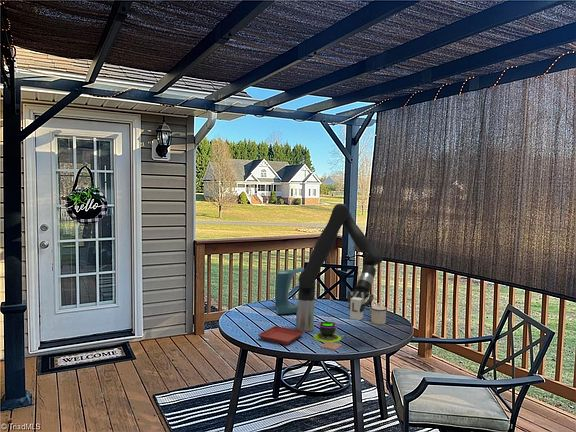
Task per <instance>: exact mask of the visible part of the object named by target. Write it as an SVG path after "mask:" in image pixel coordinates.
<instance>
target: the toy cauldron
mask: <svg viewBox="0 0 576 432" xmlns="http://www.w3.org/2000/svg"><path fill="white" fill-rule="evenodd" d="M323 319H324V320H325V319H326V318H325V317H324V318H322V320H323ZM328 319H330V320H331V318H328ZM332 320H333V321H320V322H318V323H316V325H317V326H318V327H319V332H318V333H315V334H313V336H312V337H313V339H314V340H316V341H319V342H323V343H326V342H327V341H328V342H333V343H337V342H339V341H341V340H342V336H341V335H339V334H336V329H338V327H339V324H338V323H336V322H334V321H335V319H334V318H332Z"/></svg>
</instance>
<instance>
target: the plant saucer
mask: <svg viewBox="0 0 576 432" xmlns="http://www.w3.org/2000/svg"><path fill="white" fill-rule="evenodd" d="M304 332H305V331H300V330H298V329H294V328H289V327H285V326H284V327H283V326H278V325H274V326H272V327H271V328H268V329H266V330H265V331H263V332H260V333H259V334H257V335H258V337H259V338H260V339H261V340H263V341H267V342H270V343H275V344H281V345H284V346H288V345H289V344H292V342H294V341H296V340H297V339H299V338H300V337H301V336H302V335H303V334H304Z"/></svg>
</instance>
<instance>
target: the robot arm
mask: <svg viewBox="0 0 576 432" xmlns="http://www.w3.org/2000/svg"><path fill="white" fill-rule="evenodd" d="M350 212H351V211H350V208H349V207H348V205H346V204H345V203H337V204H335V205H334V207H333V208H332V211H331V213H330V217H329V220H328V222H327V223H326V225H325V227H324V229H323V230H322V231H321V233H320V235H319V237H318V238H317V240H316V242H315V244H314V245H313V248H312V251H311V254H310V257H309V260H308V262H307V264H306V266H305V267H304V271H302V272H300V273H299V276H298V297H297V298H298V299H297V305H298V312H297V313H295V314H296V315H295V316H296V317H295V320H296V321H295V330H299V331H303V332H307V333H308V332H312V331H314V327H315V305H314V304H316V300H315V299H316V298H315V297H316V280H317V277H318V274H319V272H320V269H321V268H322V266H323V265H324V263H325V261H326V260H327V258H328V256H329V255H330V253H331V251H332V249H333V247H334V245H335V242H336V239H337V238H338V234H339V231H340V229H341V227H342V226H343V227H344V228H345V230H346V231H347V233H348V235H349V236H350V238H351V240H352V241H353V243H354V244H355V246H356V247H357V249H358V250H359V252H361V253H366V255H365V256H364V258H363V263H362V269H361V274H360V275H359V277H358V280H357V282H356V286H355V289H354V290H353V291H350V290H348V291H347V302H348V303H349V305H348V309H349V311H350V303H351V298H353V297H358V298H362V299H363V301H362V304H361V307H360V312H361V313H362V312H363V313H364V310H365V308H366V307H369V306H371V303H373V300H374V298H375V297H374V294H370V292H371V289H372V286H373V285H374V279H375V276H376V272H377V270H376V267H375V266H376V265H379V264H381V263H382V262H383V255H382V253H381V251H379V250H378V248H376V247H375V246H374V245H373V244H371V242H370V241H369V240H368V238H367V236H366V235H365V234H364V233H363V231H362V230H361V228H360V227H359V226H358V224H357V223H356V222H355V220H354V218H353V217H352V215H351V213H350ZM366 299H367V300H366Z"/></svg>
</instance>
